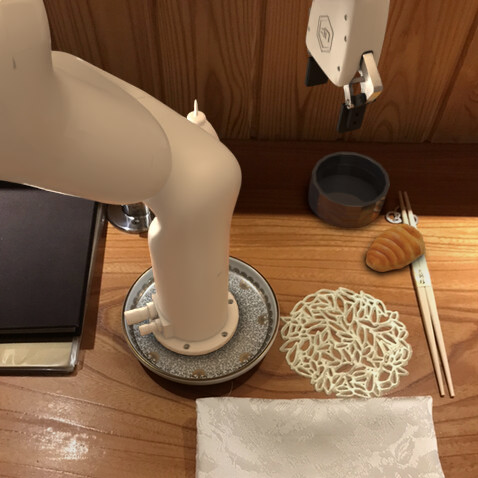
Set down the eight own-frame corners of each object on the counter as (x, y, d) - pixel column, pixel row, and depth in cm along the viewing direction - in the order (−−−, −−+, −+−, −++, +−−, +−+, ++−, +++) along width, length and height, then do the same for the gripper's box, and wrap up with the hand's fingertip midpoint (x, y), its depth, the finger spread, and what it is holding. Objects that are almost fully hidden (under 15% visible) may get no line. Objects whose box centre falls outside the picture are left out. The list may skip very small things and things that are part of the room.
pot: (328, 236, 89) (334, 214, 85) (296, 184, 95) (299, 161, 91) (395, 216, 92) (403, 194, 88) (359, 167, 98) (366, 144, 93)
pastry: (385, 284, 84) (391, 269, 81) (353, 256, 87) (358, 240, 84) (426, 255, 88) (434, 238, 84) (394, 229, 90) (401, 212, 87)
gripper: (294, -70, 62) (279, 72, 76) (366, 12, 53) (333, 155, 67) (355, -78, 63) (329, 63, 78) (435, 1, 55) (388, 143, 69)
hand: (331, 106), depth 73 cm, fingers open, 9 cm apart
